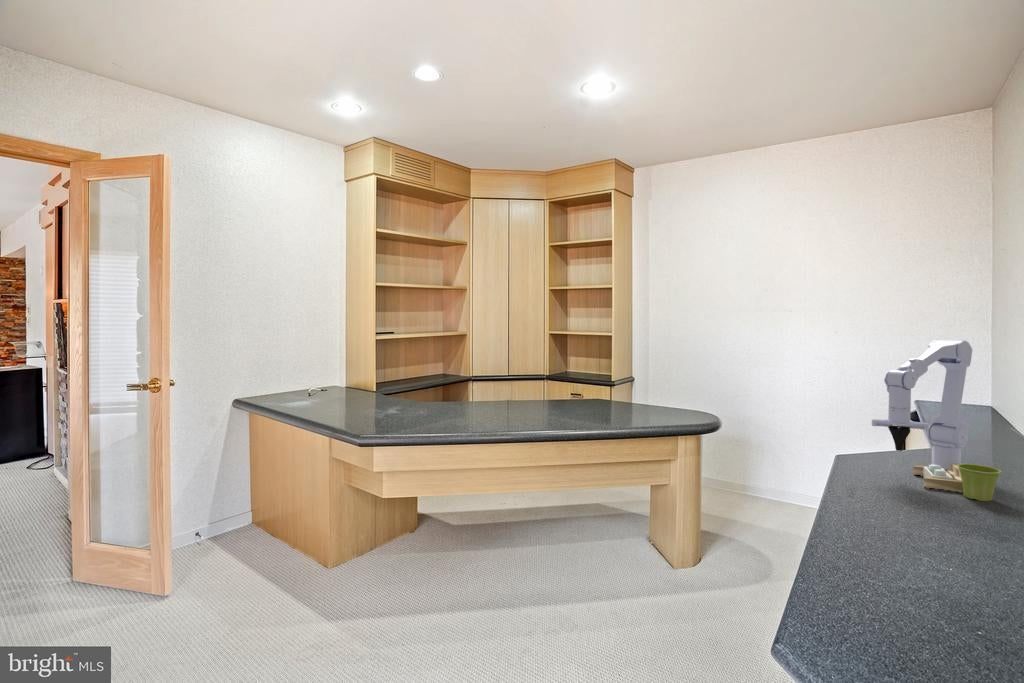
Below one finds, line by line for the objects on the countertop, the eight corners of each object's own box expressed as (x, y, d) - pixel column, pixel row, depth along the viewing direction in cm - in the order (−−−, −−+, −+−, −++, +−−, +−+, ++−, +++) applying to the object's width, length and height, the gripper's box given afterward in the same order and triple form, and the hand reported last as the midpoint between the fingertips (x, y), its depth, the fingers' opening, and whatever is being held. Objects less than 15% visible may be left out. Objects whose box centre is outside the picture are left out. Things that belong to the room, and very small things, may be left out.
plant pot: (982, 493, 158) (983, 464, 158) (1009, 504, 149) (1010, 473, 148) (948, 492, 159) (949, 463, 159) (972, 503, 149) (973, 472, 149)
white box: (923, 477, 175) (923, 462, 175) (942, 479, 172) (942, 464, 172) (931, 487, 164) (932, 471, 164) (952, 489, 162) (953, 473, 162)
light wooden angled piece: (913, 474, 178) (913, 459, 178) (961, 479, 172) (962, 463, 172) (924, 487, 163) (924, 471, 163) (977, 493, 157) (978, 476, 157)
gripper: (874, 408, 172) (873, 450, 172) (930, 411, 165) (929, 455, 166) (871, 405, 178) (870, 445, 179) (925, 407, 172) (924, 450, 172)
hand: (898, 450), depth 173 cm, fingers closed
